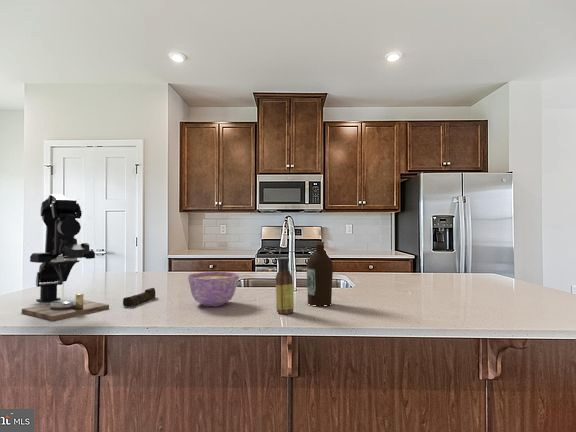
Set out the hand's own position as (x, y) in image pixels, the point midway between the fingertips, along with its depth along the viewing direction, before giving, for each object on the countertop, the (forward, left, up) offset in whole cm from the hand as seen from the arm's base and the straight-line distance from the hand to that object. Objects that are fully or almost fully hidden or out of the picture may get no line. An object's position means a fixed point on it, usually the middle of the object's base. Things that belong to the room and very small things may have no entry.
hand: (63, 281), depth 124 cm
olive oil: (+66, +63, -12) cm, 92 cm away
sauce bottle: (+61, +44, -12) cm, 76 cm away
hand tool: (+2, +29, -12) cm, 32 cm away
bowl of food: (+30, +41, -12) cm, 53 cm away
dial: (-6, +6, -10) cm, 13 cm away
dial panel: (-8, +5, -12) cm, 15 cm away
